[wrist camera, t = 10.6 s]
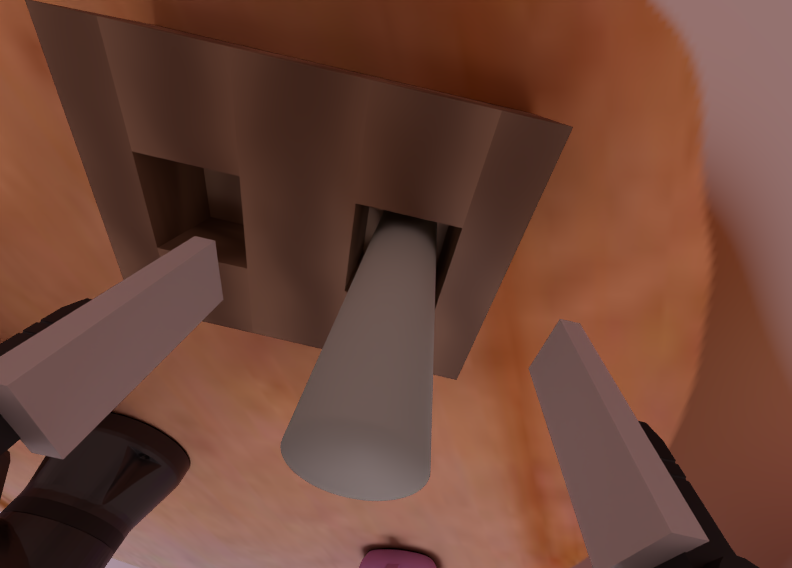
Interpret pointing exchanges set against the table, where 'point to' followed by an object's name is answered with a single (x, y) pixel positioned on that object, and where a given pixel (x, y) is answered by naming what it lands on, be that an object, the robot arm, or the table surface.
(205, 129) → the block
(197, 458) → the table surface
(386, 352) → the pin
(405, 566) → the teapot
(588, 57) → the table surface
